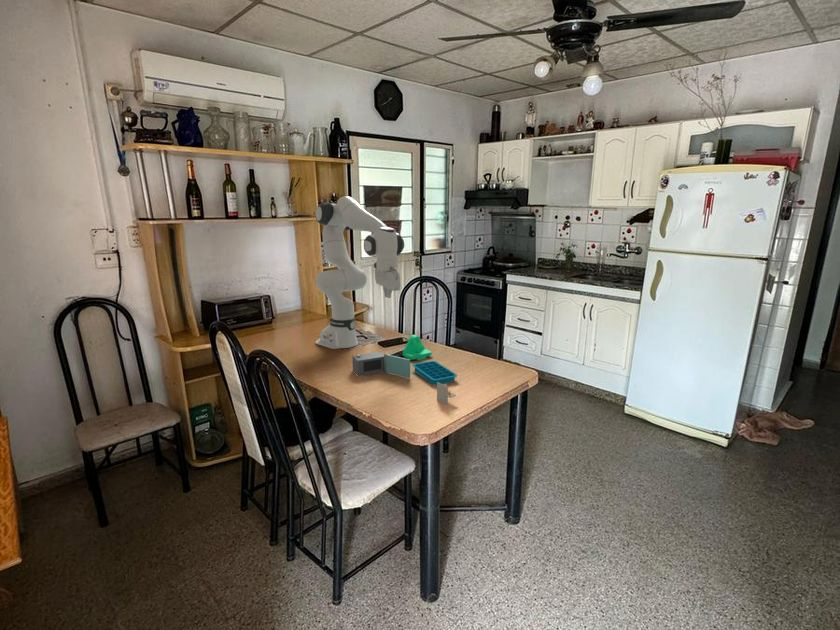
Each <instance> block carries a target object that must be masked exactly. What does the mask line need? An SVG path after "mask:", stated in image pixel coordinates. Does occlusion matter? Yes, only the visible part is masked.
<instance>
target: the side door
mask: <svg viewBox="0 0 840 630" xmlns="http://www.w3.org/2000/svg"><path fill="white" fill-rule="evenodd" d="M383 354H384V372H383V373H386V374H387V373H388V374H391V375H396V376H400V377H403V378H407V379H411V359H409V358H406V357H404V358H403V357H401V356H397V355H396V356H395V355H393V354H386V353H383Z"/></svg>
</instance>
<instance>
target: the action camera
mask: <svg viewBox="0 0 840 630" xmlns="http://www.w3.org/2000/svg"><path fill="white" fill-rule="evenodd" d="M384 354H385V353H383V352H381V351H375V352H369V353H361V354H355V355H352V357H351V358H352V359H351V360H352V372H353V371H354V372H355V373H356V374H357V375H358V376H357V375H356V374H355V373H354V372H353V373H354V374H355V375H356V376H357V377H363V376H368V374H369V375H373V374H374V373H375V374H380V372H381V373H384ZM362 375H363V376H362Z"/></svg>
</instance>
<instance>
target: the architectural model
mask: <svg viewBox="0 0 840 630" xmlns="http://www.w3.org/2000/svg"><path fill="white" fill-rule="evenodd" d="M455 397H457V394H456V393H453V392H451V391H450V390H449V387H448V386H447V383H444V384H440V383H438V382H437V385H436V401H439V402H440V403H442V404H445V405H448V402H449V401H448V400H449V399H451V398H452V399H453V398H455Z"/></svg>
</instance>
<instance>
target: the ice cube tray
mask: <svg viewBox="0 0 840 630" xmlns="http://www.w3.org/2000/svg"><path fill="white" fill-rule="evenodd" d="M412 367H413V368H414V372H415V373H416V372H417V374H418V375H419V376H420V377H421V378H423V379H425V381H427V382H429V383H430V384H431V385H433V386H437V382H438V383H440V384H443V385H445V384H450V383H453V382H455V378H457V377H458V374H457V373H456V372H454V371H452V370H450V369H449V368H447V367H446V366H445V365H443V364H441V363H440V362H437V361H436V360H430V361H429V360H428V361H423V362H419V363H413V364H412Z"/></svg>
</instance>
